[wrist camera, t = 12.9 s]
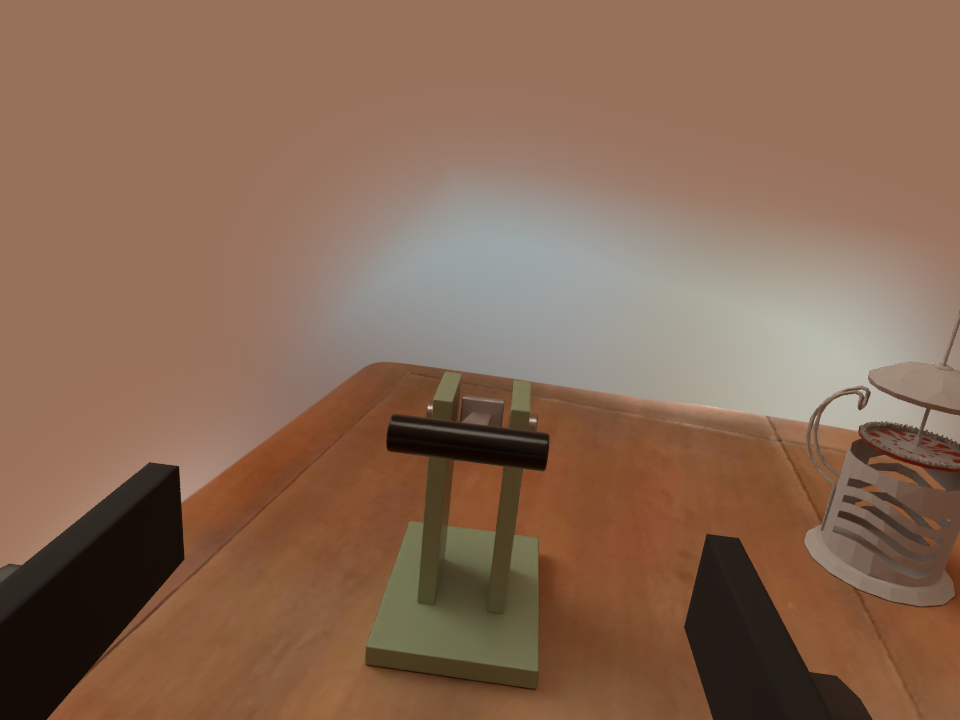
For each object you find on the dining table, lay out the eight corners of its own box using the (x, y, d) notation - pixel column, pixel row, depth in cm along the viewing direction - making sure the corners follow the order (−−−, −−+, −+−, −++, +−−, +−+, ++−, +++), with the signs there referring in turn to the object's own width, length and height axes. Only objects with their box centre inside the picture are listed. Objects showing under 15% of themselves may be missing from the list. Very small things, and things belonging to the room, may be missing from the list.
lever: (544, 487, 23) (552, 422, 23) (382, 466, 24) (390, 401, 24) (532, 446, 37) (537, 404, 37) (428, 433, 37) (433, 391, 37)
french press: (941, 628, 41) (1097, 234, 33) (760, 543, 48) (853, 204, 41) (966, 567, 48) (1100, 230, 40) (804, 501, 55) (890, 205, 47)
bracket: (535, 689, 33) (574, 449, 29) (364, 664, 34) (376, 424, 29) (536, 552, 45) (563, 365, 40) (408, 534, 45) (422, 347, 41)
